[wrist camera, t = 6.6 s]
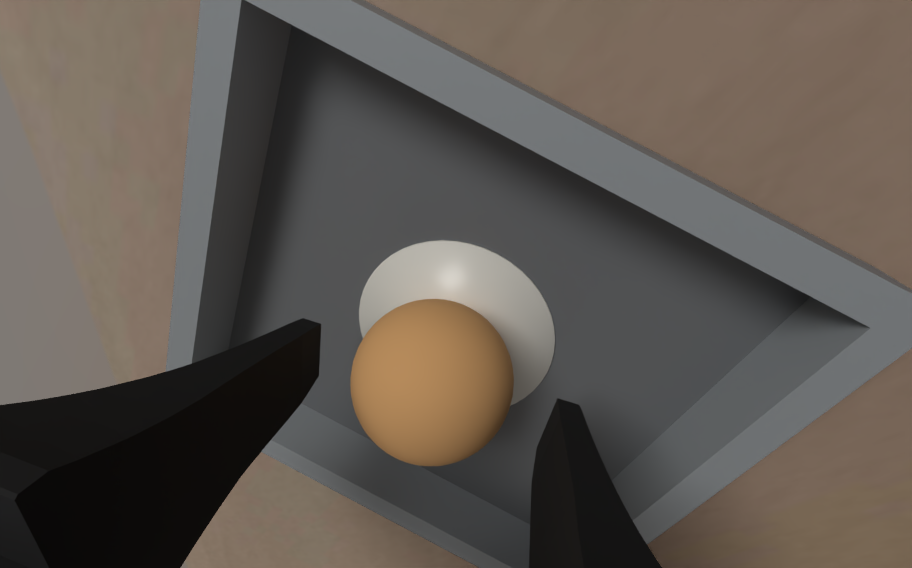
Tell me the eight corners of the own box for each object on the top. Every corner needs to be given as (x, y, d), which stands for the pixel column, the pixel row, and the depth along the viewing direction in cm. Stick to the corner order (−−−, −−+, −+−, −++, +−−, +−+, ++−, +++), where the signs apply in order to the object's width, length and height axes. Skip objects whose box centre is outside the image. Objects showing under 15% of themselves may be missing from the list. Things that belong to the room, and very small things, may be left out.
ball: (538, 296, 13) (526, 398, 9) (501, 405, 15) (478, 528, 11) (395, 256, 14) (320, 335, 10) (380, 367, 16) (315, 470, 12)
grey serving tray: (877, 268, 11) (954, 316, 9) (560, 548, 19) (559, 610, 17) (278, -45, 11) (208, -75, 9) (209, 362, 19) (163, 399, 17)
